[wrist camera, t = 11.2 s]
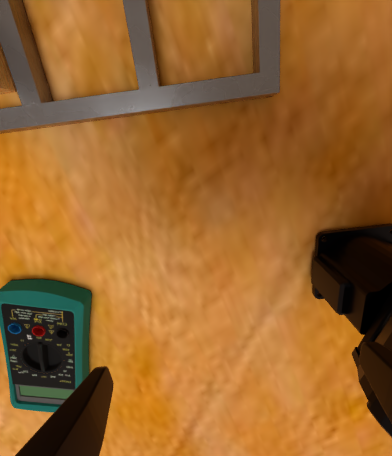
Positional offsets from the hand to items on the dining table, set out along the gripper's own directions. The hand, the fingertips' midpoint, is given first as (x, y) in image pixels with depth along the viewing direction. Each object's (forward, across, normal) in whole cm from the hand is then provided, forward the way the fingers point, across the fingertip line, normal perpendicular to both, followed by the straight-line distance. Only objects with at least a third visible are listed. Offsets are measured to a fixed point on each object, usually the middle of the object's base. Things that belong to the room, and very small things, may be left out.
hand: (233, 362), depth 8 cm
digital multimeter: (+12, +17, +10) cm, 23 cm away
